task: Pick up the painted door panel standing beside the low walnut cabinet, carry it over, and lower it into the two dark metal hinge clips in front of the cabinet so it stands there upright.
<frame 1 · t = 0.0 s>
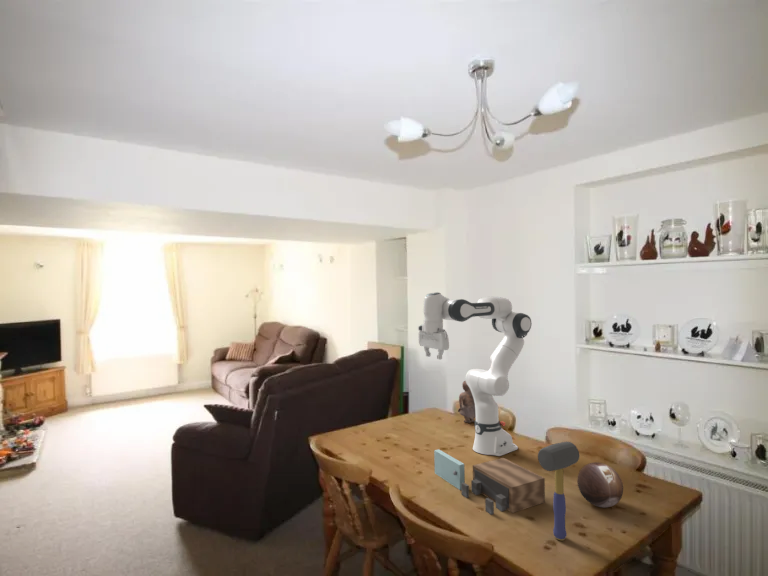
hand: (433, 357, 200), 48 cm above the table, fingers open, 8 cm apart
cabinet: (507, 494, 167), on the table
door: (449, 480, 181), on the table
clay figurine: (469, 422, 259), on the table
rubber mallet: (559, 539, 138), on the table
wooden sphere: (600, 505, 159), on the table
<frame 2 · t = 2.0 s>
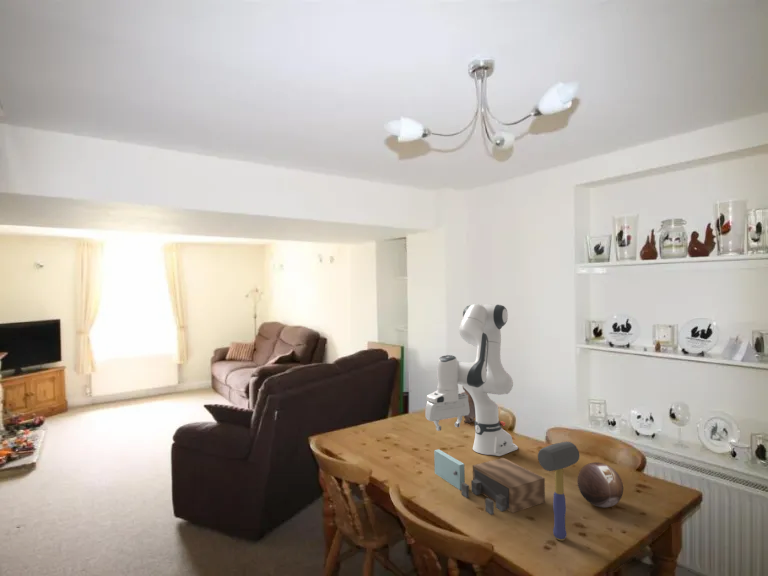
hand: (448, 428, 180), 22 cm above the table, fingers open, 8 cm apart
nothing on the table moved.
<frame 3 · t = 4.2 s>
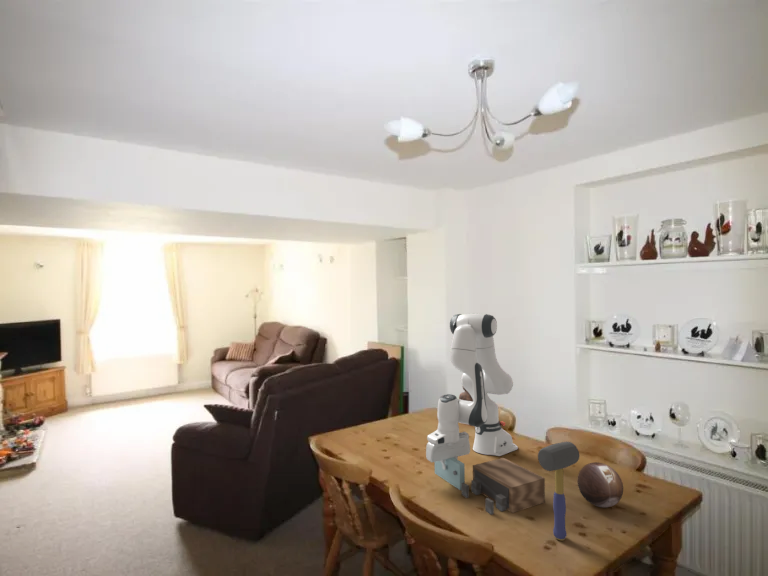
hand: (448, 468, 180), 5 cm above the table, fingers closed on door, 2 cm apart
door: (449, 480, 180), on the table, touching gripper
everything else where it was.
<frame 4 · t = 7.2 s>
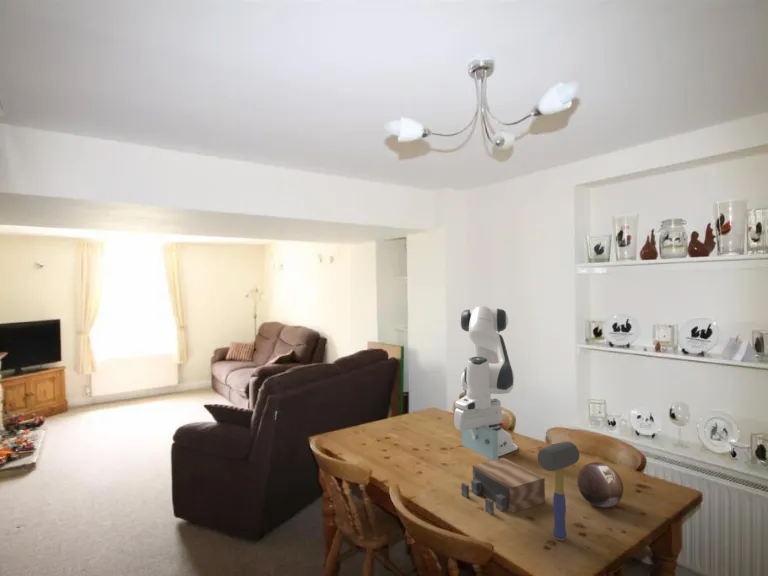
hand: (479, 438, 162), 24 cm above the table, fingers closed on door, 2 cm apart
door: (479, 452, 162), point 19 cm above the table, touching gripper
everything else where it was.
when the fingers open (7 cm above the table, at t = 10.3 s): door drops 2 cm, on the table.
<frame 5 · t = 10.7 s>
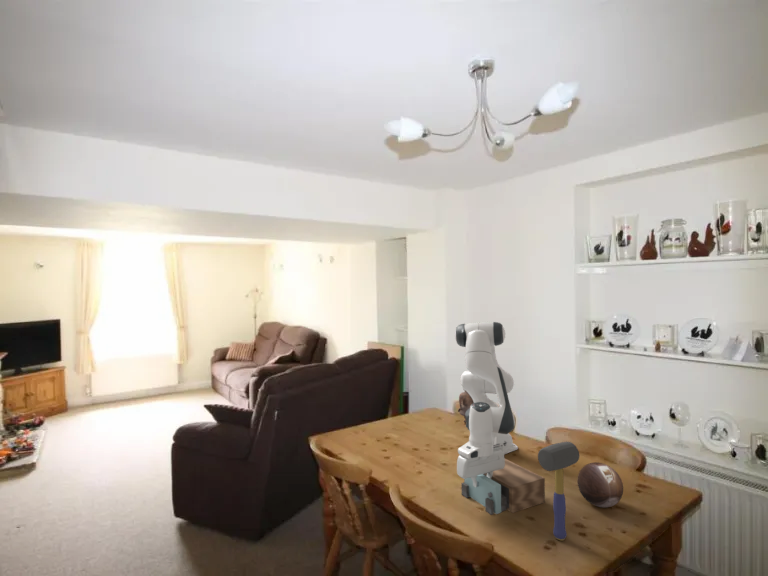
hand: (481, 484, 162), 7 cm above the table, fingers open, 4 cm apart
door: (482, 502, 162), on the table
everything else where it was.
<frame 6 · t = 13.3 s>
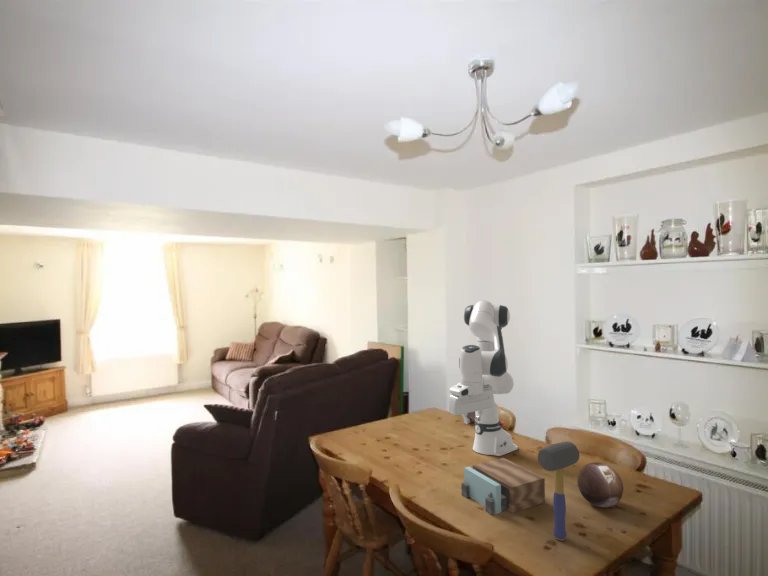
hand: (472, 422, 171), 27 cm above the table, fingers open, 4 cm apart
nothing on the table moved.
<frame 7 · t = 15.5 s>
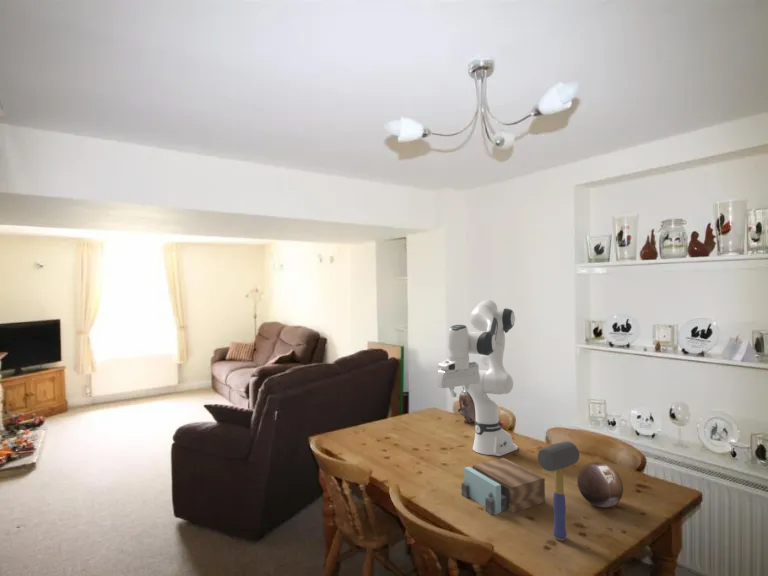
hand: (459, 396, 184), 34 cm above the table, fingers open, 4 cm apart
nothing on the table moved.
at the end: door 0.1 cm from the target spot on the cabinet, point 0.0 cm above the cabinet's base; door tilted 0°; the gripper is holding nothing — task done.
